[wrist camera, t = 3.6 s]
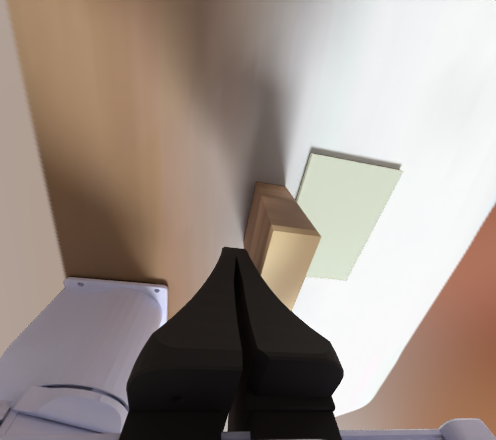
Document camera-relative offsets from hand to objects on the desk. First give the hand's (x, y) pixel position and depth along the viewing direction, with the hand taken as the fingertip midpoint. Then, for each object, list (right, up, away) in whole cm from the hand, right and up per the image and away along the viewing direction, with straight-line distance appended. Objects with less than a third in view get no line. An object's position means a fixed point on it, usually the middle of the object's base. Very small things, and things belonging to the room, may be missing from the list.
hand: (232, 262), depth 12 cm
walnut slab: (+2, +3, +7) cm, 8 cm away
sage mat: (+9, +2, +7) cm, 12 cm away
